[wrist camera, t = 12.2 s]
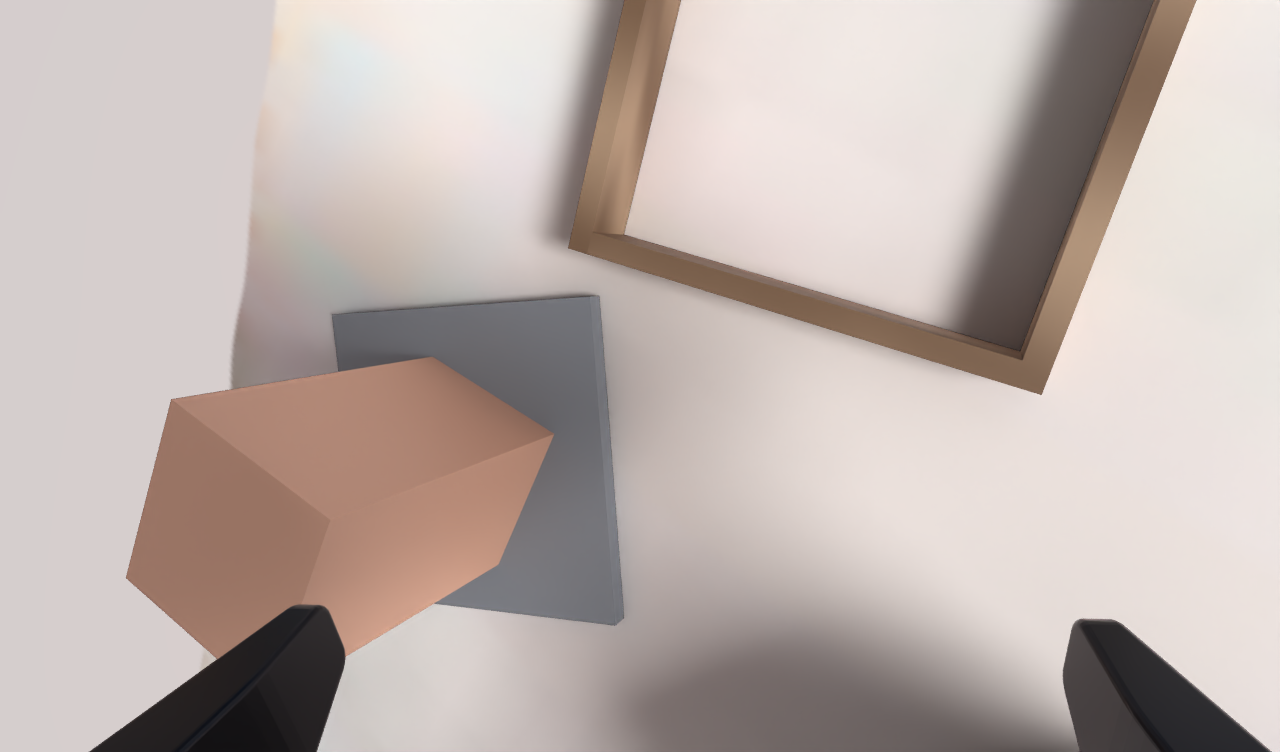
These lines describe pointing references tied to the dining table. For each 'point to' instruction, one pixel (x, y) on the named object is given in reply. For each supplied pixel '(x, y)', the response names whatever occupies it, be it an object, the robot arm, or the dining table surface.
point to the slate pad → (552, 397)
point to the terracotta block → (331, 499)
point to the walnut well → (603, 236)
